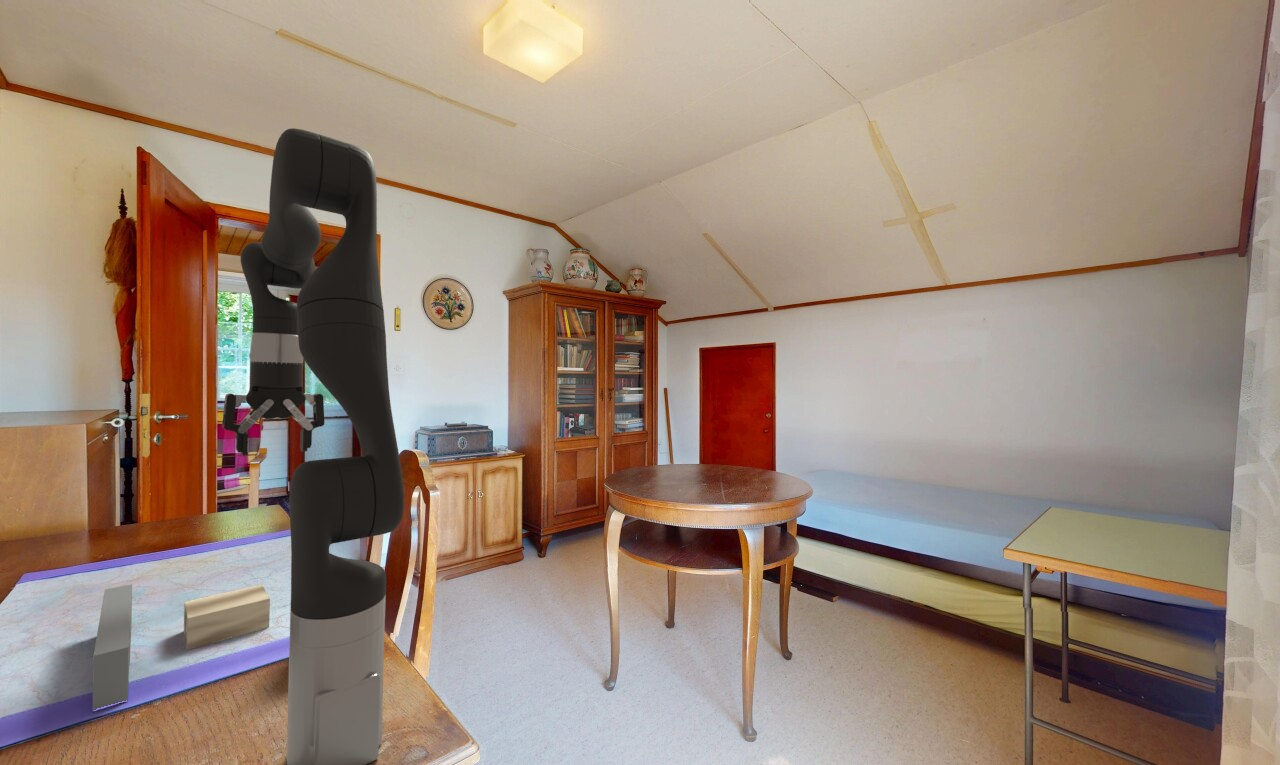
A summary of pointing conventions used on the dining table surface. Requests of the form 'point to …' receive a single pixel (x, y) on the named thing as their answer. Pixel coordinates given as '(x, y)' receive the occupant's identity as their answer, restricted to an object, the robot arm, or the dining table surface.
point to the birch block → (225, 615)
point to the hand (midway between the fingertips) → (275, 452)
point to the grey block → (113, 648)
